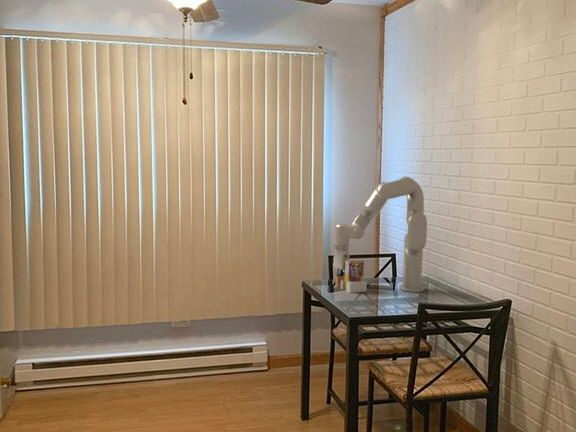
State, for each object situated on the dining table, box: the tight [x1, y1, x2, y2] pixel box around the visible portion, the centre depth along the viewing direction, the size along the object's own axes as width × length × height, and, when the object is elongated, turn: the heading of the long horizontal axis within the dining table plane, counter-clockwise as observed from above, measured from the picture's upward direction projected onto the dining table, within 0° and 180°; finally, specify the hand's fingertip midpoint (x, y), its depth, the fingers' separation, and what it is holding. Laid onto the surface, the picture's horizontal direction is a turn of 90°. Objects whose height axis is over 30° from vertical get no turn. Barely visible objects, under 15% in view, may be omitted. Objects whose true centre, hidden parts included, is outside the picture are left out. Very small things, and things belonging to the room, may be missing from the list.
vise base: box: [346, 280, 368, 294], centre depth 317 cm, size 14×22×6 cm, turn 25°
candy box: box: [343, 259, 365, 291], centre depth 311 cm, size 9×4×15 cm, turn 114°
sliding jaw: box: [335, 275, 345, 290], centre depth 318 cm, size 10×9×5 cm
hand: (339, 281), depth 324 cm, fingers closed
